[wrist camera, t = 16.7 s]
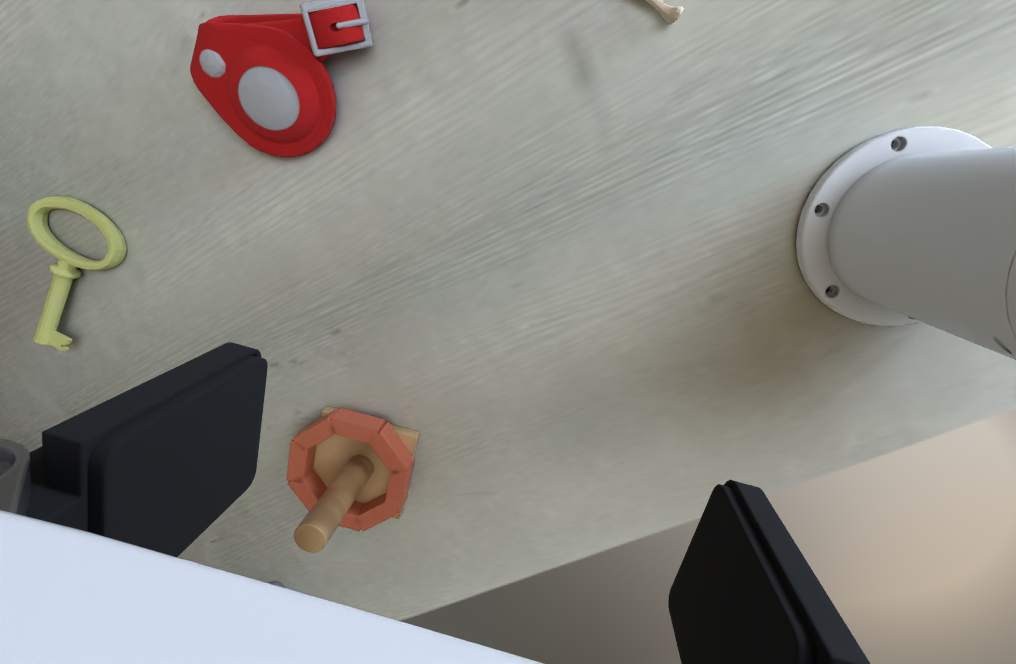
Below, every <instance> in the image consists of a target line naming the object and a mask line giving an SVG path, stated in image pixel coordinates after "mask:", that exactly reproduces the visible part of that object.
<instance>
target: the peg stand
mask: <svg viewBox="0 0 1016 664" xmlns="http://www.w3.org/2000/svg"><path fill="white" fill-rule="evenodd" d="M334 410H335V408H331V407H326V408H325V409H324V410H323V411H322V412H321V418H322V417H323V416H325V415H327V414H329V413H330V412H332V411H334ZM390 425H391V427H392V428H393V430H394V431H395V432H396V434H397V435H398V437H399V438H400V439H401V441H402V442H403V444H404V445H405V446H406V448H407V449H408V451H409V452H410V454H411V455H412V456H413V461H414V458H415V453H416V449H417V444H418V439H419V435H420V432H417V431H414V430H410V429H407V428H403V427H399V426H396V425H392V424H390ZM313 469H314V470H315V472H316V473H317V474H318V476H319V477H320V478H321V480H322V481H323V482H324V483H325V485H326V486H327V487H328V488H327V490H326V491H325V492H324V494H323V495H322V496H321V497H320V499H319V500H318V501H317V503H316V504H315V505H314V506H313V508H312V509H311V510H310V512H309V513H308V514H307V515H306V517H305V518H304V519H303V521H302V522H301V523H300V524H299V526H298V527H297V528H296V530H295V532H294V539H295V542H296V544H297V545H298V546H299V547H300V548H301V549H303V550H304V551H307V552H312V553H314V552H318V551H320V550H322V549H323V548H324V547H325V545H326V544H327V542H328V540H329V539H330V537H331V536H332V534H333V533H334V531H335V530H336V528H337V527H338V525H339V524H340V522H341V521H342V519H343V518H344V516H345V515H346V513H347V512H348V510H349V509H350V507H351V506H352V504H353V503H354V501H357V502H361V503H364V504H365V503H367V502H369V501H371V500H373V499H375V498H377V497H379V496H381V495H383V494H385V493H387V487H388V482H389V477H390V471H389V470H388V468H387V467H386V466H385V464H384V463H383V462H382V460H381V459H380V457H379V456H378V455H377V453H376V452H375V451H374V449H373V448H372V446H371V445H370V444H368V443H364V442H361V441H357V440H353V439H350V438H346V437H342V436H338V435H335V434H334V435H333V436H331V437H329V438H327V439H326V440H324V441H322V442H320V443H318V444H317V446H316V452H315V459H314V466H313ZM404 504H405V503H404ZM403 509H404V505H403V507H402V509H401V511H399V513H398V514H397V515H395V516H393V518H397V519H400V517H401V515H402V513H403Z"/></svg>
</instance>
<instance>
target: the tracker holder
mask: <svg viewBox="0 0 1016 664" xmlns="http://www.w3.org/2000/svg"><path fill="white" fill-rule="evenodd" d="M349 3H355V4H350V5H345V6H340V7H335V8H330V9H324V10H319V11H314V12H308V10H311V9H317V8H323V7H330V6H336V5H343V4H349ZM300 8H301V12H302V14H270V15H227V16H218V17H215V18H212V19H210V20H208V21H207V22H205V23H202V24H200V25H199V29H198V35H197V40H196V44H195V48H194V53H193V57H192V61H191V66H190V71H191V75H192V78H193V80H194V83H195V84H196V86H197V88H198V89H199V91H200V92H201V93H202V94H203V96H204V97H205V98H206V99H207V101H208V102H209V103H210V104H211V105H212V107H213V108H214V109H215V110H216V112H217V113H218V114H219V115H220V116H221V117H222V119H223V120H224V121H225V122H226V123H227V124H228V125H229V126H230V127H231V128H232V129H233V130H234V131H235V132H236V133H237V134H238V135H239V136H240V137H241V138H242V139H244V140H245V141H246V142H247V143H248V144H249V145H251V146H252V147H254V148H256V149H257V150H259V151H261V152H264V153H267V154H270V155H274V156H279V157H295V156H300V155H303V154H306V153H309V152H311V151H312V150H314V149H315V148H317V147H318V146H319V145H320V144H321V143H322V142H323V141H324V140H325V139H326V137H327V136H328V135H329V133H330V131H331V129H332V127H333V124H334V120H335V116H336V96H335V91H334V87H333V83H332V81H331V78H330V76H329V74H328V72H327V70H326V68H325V66H324V65H323V60H324V59H326V58H327V57H329V56H331V55H332V54H334V53H339V52H344V51H350V50H355V49H361V48H366V47H372V45H373V42H372V38H371V33H370V29H369V24H368V23H369V19H368V18H367V15H366V11H365V6H364V2H363V0H322V1H315V2H308V3H302V4H301V5H300ZM361 40H363V41H362V42H358V41H361ZM356 42H357V43H356Z"/></svg>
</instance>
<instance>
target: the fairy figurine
mask: <svg viewBox="0 0 1016 664" xmlns="http://www.w3.org/2000/svg"><path fill="white" fill-rule="evenodd" d="M646 1H647V2H648V3H650V4H651V5H652V6H653V7H654V8H655V9H657V10H658V11H659V13H660V14H661V16H662V17H663V19H664V20H665V21H666V22H667V23H668V24H670V25H671V24H672V23H673V22H675V21H676V20H677V19H678V18H679V16H680V15H681V13H682V12H683V10H684V8H683V7H680V6H679V7H672V6H669V5H667V4H665V3H664V2H663V1H662V0H646Z"/></svg>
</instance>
